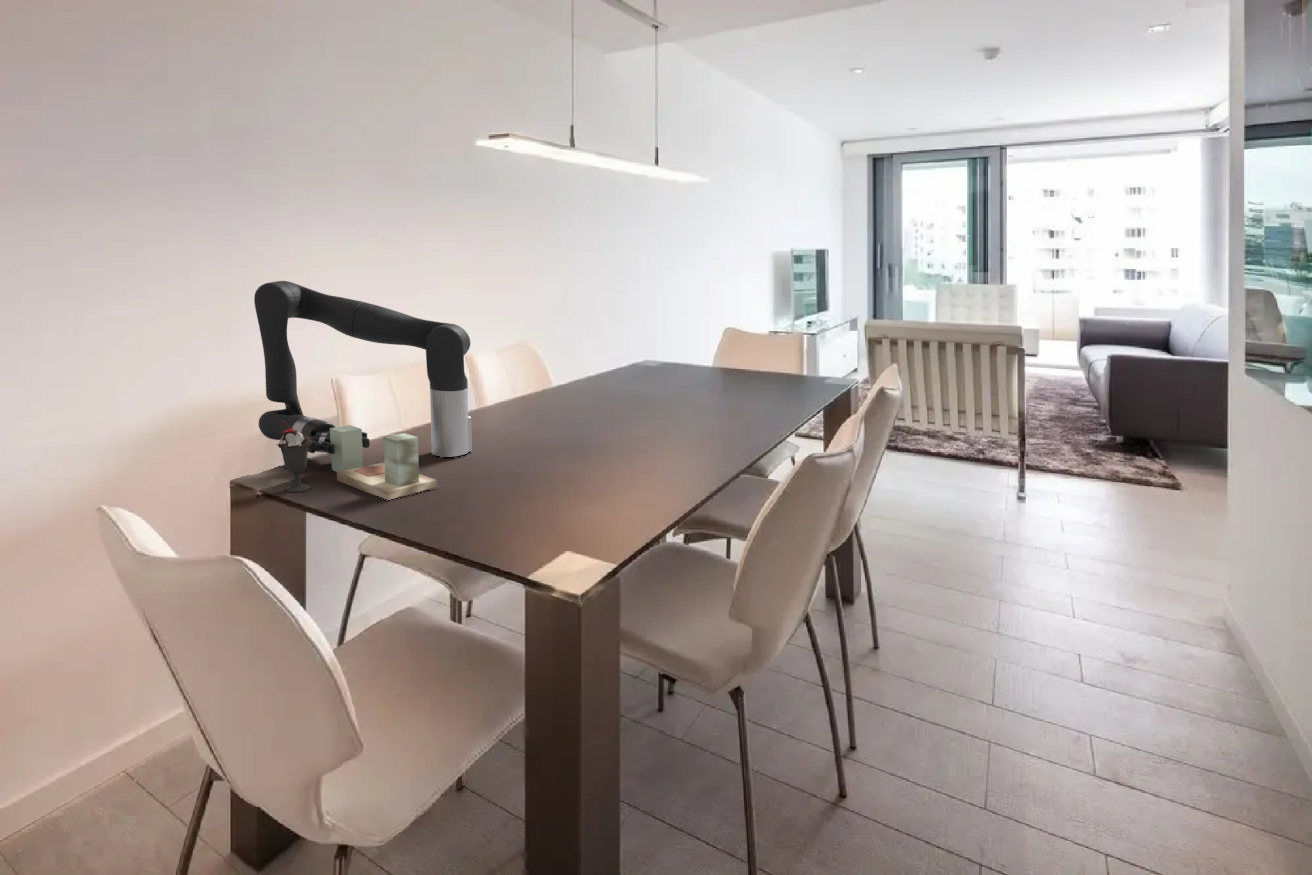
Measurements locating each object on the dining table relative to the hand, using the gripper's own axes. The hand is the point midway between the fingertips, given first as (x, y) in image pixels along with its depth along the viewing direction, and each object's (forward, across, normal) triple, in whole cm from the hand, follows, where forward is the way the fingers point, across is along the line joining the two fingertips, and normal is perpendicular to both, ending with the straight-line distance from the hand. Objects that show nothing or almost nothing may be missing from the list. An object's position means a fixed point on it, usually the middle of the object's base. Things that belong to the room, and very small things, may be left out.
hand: (350, 446), depth 170 cm
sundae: (+4, -15, +6) cm, 17 cm away
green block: (-2, 0, +6) cm, 6 cm away
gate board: (+14, 0, +6) cm, 15 cm away
